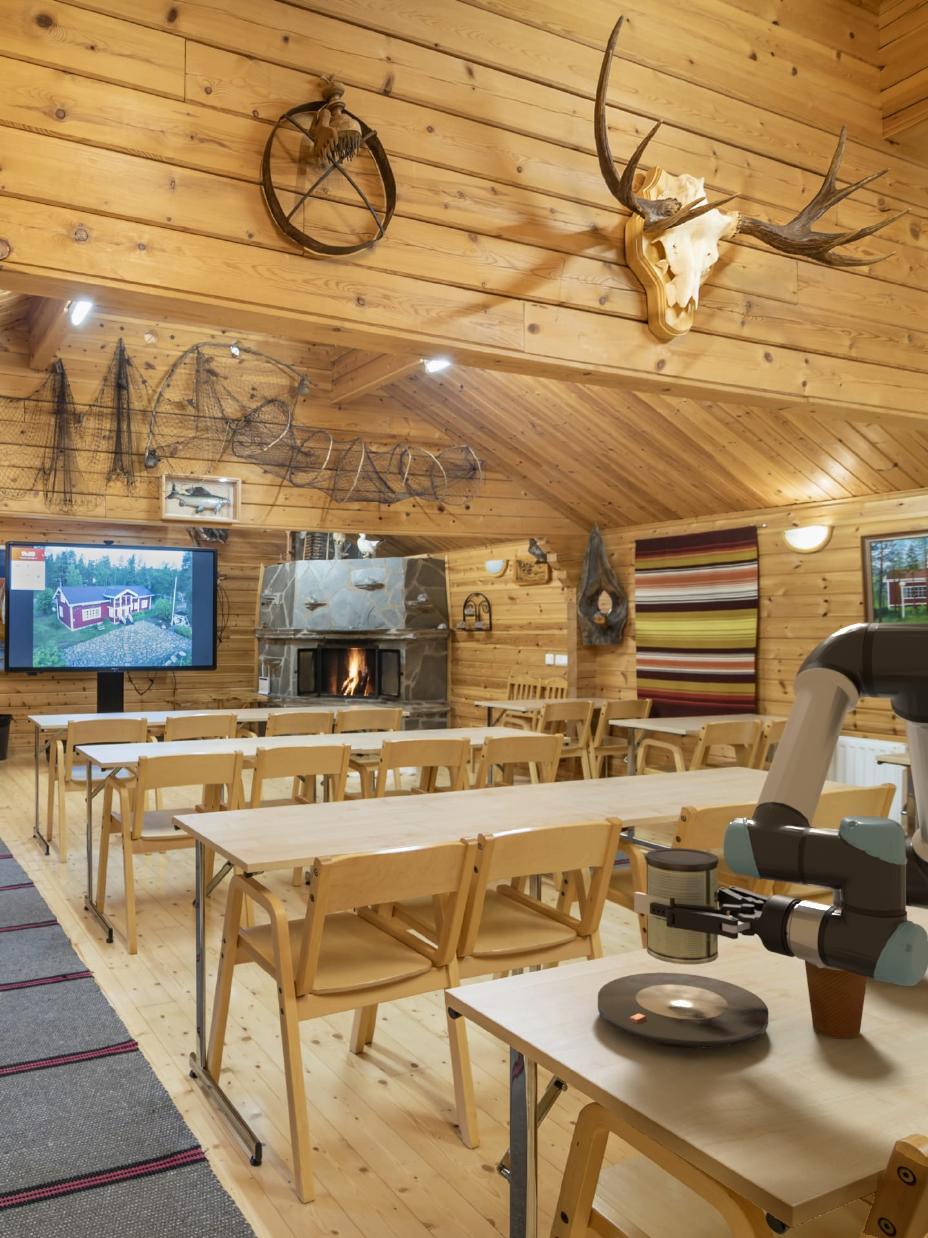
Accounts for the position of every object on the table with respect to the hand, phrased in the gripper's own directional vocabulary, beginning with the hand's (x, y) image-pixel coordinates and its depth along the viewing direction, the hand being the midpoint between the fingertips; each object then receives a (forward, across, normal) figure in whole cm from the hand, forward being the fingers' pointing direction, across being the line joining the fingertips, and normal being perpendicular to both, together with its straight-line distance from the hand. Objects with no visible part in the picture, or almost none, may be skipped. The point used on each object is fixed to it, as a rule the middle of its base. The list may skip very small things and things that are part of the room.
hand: (657, 895), depth 139 cm
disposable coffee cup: (-20, +15, -18) cm, 31 cm away
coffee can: (-4, 0, -8) cm, 9 cm away
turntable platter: (-4, 0, -16) cm, 17 cm away
